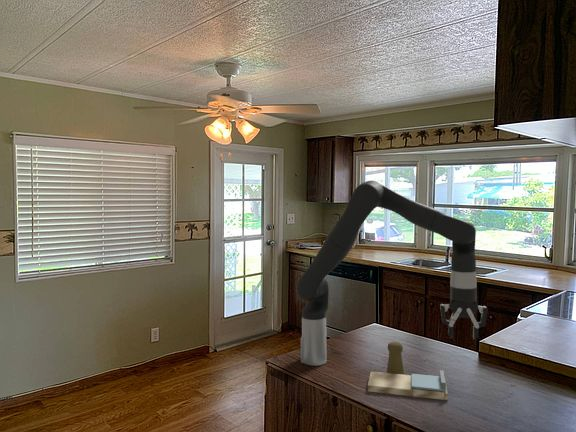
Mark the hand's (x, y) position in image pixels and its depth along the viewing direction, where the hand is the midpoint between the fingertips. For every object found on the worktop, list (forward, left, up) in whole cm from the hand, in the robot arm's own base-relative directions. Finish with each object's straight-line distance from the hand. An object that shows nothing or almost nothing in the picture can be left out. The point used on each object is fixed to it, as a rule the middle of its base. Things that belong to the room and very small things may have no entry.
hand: (463, 338), depth 131 cm
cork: (-21, +10, -18) cm, 30 cm away
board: (-17, 0, -18) cm, 25 cm away
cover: (-10, 0, -15) cm, 19 cm away
